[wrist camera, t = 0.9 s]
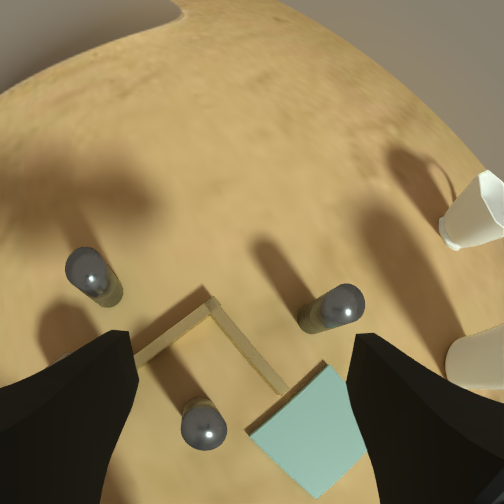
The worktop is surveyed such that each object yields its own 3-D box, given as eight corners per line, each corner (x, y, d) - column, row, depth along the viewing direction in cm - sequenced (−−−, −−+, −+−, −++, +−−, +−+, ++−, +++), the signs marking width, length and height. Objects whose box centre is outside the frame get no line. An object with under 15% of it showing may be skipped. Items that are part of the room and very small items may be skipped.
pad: (314, 497, 19) (316, 499, 18) (248, 435, 20) (249, 436, 19) (382, 429, 22) (385, 429, 21) (327, 364, 23) (329, 364, 22)
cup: (420, 230, 29) (472, 193, 22) (445, 181, 33) (486, 145, 26) (461, 275, 29) (515, 248, 21) (480, 220, 32) (523, 191, 25)
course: (207, 450, 19) (213, 477, 13) (84, 289, 21) (54, 265, 16) (342, 332, 24) (383, 320, 18) (225, 194, 26) (235, 150, 21)
